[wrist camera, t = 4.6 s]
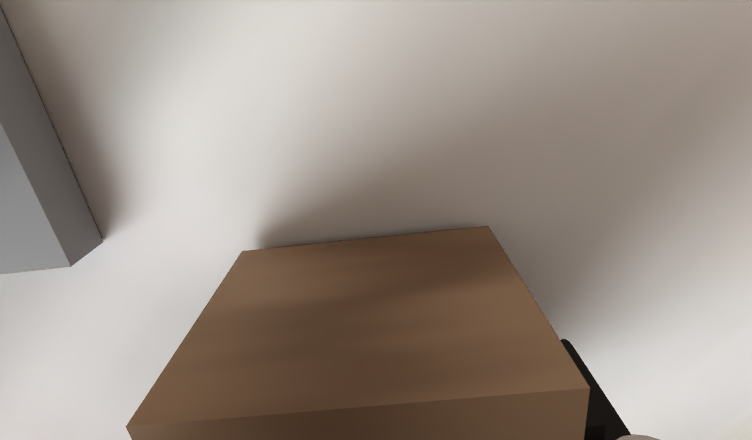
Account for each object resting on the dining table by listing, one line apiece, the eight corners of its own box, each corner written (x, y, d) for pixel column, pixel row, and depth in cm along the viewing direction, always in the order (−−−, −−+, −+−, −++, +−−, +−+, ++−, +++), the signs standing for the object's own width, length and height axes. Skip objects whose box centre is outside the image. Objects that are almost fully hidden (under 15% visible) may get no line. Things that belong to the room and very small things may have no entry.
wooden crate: (487, 225, 10) (590, 387, 5) (489, 410, 12) (559, 635, 7) (242, 251, 10) (126, 426, 5) (290, 426, 12) (237, 654, 8)
